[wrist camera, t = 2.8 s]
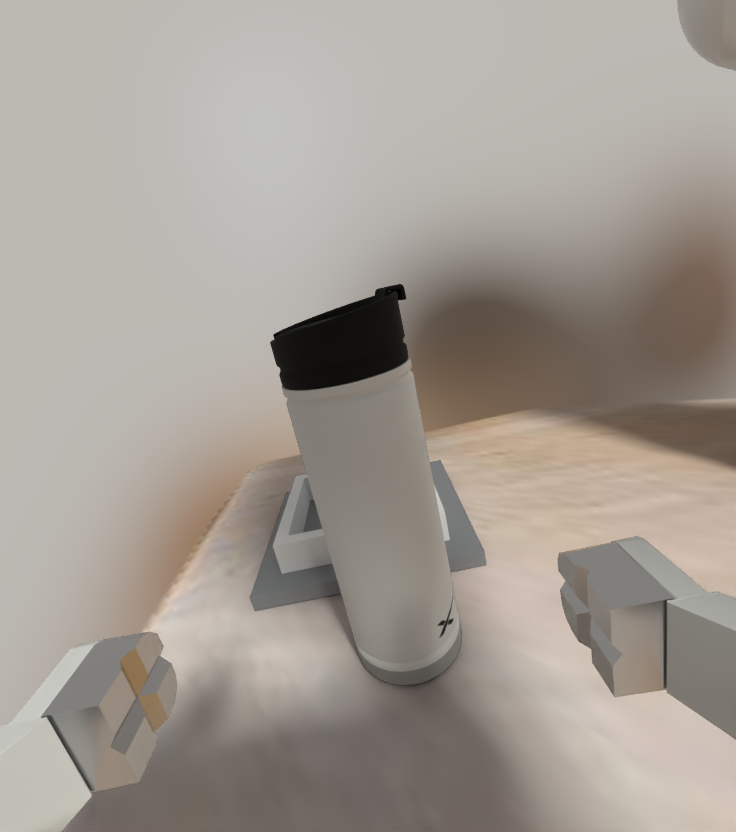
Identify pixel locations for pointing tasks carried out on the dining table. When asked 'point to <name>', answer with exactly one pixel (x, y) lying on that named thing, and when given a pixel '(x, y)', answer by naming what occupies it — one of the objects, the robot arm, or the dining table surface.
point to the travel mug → (373, 483)
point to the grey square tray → (309, 556)
